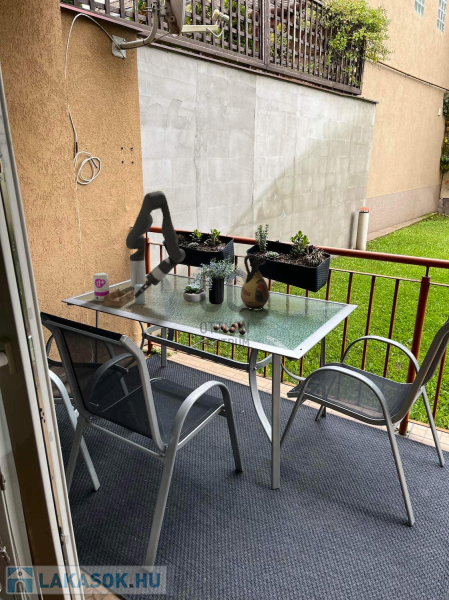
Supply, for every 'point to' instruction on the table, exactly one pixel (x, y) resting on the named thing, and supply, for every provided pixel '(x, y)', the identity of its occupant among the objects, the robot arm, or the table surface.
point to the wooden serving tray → (118, 298)
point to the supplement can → (101, 285)
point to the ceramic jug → (254, 285)
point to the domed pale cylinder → (141, 297)
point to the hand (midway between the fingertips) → (137, 294)
